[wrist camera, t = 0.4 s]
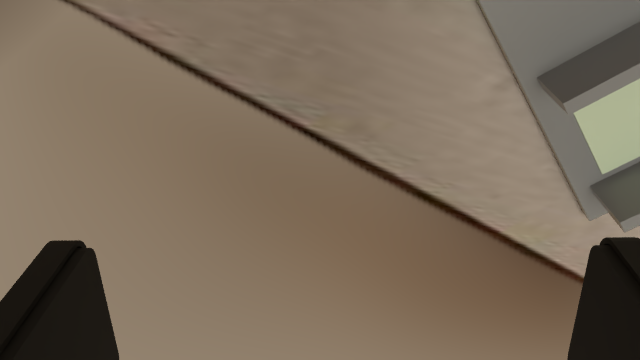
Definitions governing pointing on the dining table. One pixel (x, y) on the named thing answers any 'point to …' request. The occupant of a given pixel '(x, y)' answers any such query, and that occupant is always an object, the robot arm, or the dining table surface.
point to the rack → (581, 91)
